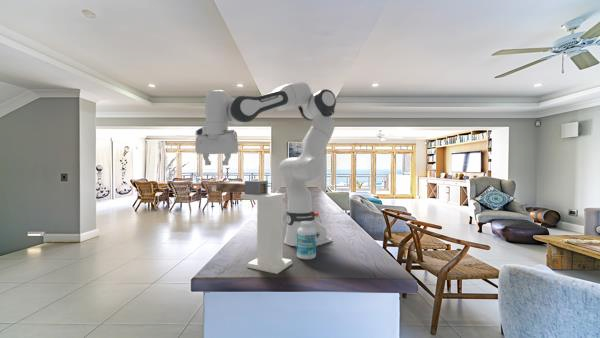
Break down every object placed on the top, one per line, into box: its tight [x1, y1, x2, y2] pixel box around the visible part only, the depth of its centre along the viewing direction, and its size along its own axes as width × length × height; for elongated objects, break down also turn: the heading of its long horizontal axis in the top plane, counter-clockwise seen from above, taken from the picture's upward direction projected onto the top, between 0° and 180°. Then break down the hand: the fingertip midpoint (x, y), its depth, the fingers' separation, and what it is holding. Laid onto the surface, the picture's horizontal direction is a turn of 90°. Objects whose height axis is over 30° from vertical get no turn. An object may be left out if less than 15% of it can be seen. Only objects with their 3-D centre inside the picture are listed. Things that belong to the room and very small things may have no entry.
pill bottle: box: [296, 221, 317, 260], centre depth 105 cm, size 8×7×14 cm
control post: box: [240, 179, 293, 275], centre depth 96 cm, size 15×10×30 cm, turn 63°
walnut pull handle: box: [215, 182, 264, 194], centre depth 101 cm, size 20×3×3 cm, turn 63°
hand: (216, 165), depth 110 cm, fingers open, 8 cm apart
